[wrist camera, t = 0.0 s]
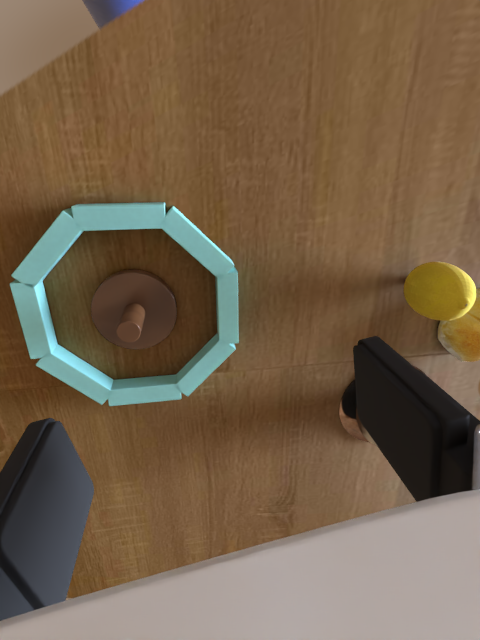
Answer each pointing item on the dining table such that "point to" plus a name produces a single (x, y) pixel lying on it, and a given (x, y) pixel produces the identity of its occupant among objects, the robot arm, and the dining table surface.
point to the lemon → (439, 291)
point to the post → (134, 309)
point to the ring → (79, 372)
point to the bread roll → (463, 334)
